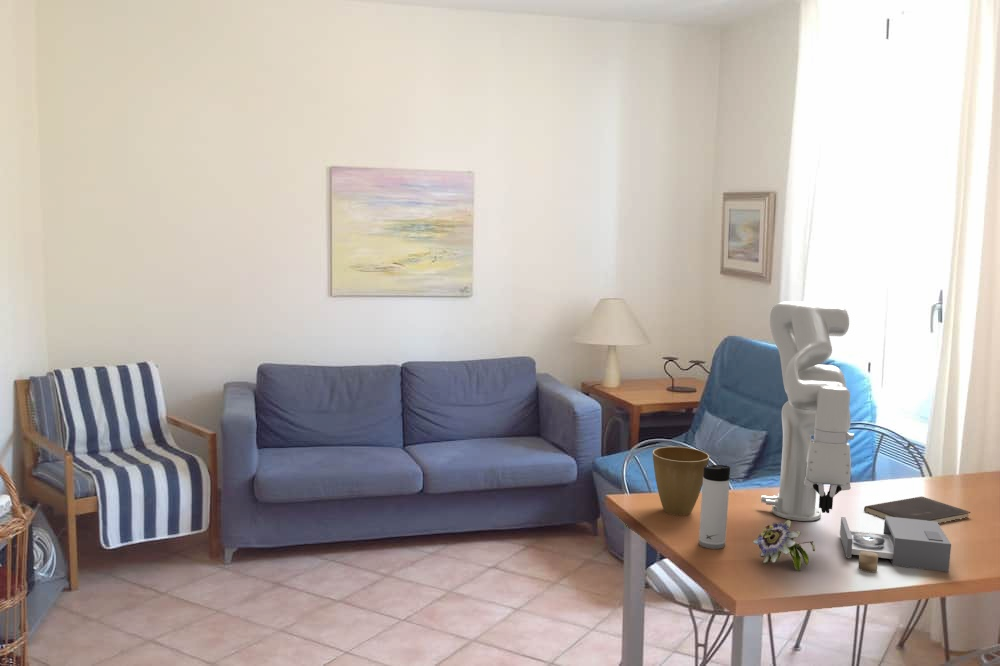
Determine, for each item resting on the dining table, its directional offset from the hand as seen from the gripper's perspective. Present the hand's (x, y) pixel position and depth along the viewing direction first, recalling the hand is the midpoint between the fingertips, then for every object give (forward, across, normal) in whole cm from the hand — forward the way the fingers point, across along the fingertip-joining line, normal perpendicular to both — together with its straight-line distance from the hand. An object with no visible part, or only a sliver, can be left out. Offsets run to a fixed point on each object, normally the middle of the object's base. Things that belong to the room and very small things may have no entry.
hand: (825, 511), depth 234 cm
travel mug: (+9, +26, +8) cm, 29 cm away
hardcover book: (+9, -27, -37) cm, 47 cm away
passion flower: (+10, +10, +14) cm, 20 cm away
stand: (+9, -9, +12) cm, 18 cm away
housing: (+9, -21, -1) cm, 23 cm away
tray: (+8, -11, -1) cm, 14 cm away
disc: (+7, -10, -1) cm, 13 cm away
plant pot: (+8, +36, -16) cm, 40 cm away
